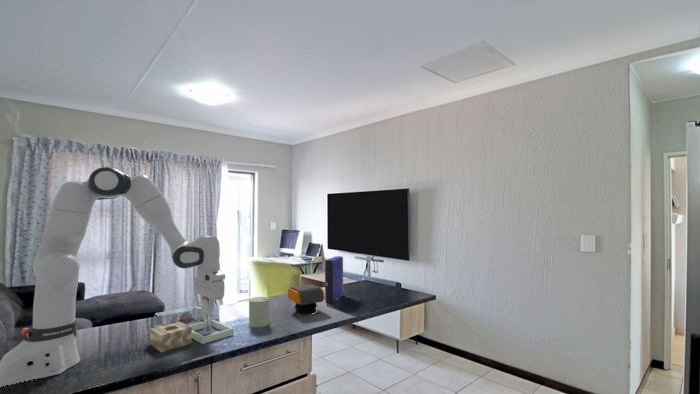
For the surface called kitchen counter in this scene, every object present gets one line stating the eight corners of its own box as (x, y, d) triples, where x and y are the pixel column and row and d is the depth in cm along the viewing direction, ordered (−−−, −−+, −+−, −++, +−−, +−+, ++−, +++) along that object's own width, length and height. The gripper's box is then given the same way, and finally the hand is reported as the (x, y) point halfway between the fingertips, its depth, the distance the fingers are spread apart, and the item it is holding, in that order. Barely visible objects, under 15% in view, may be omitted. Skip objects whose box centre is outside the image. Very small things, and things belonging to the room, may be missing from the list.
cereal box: (336, 295, 210) (335, 256, 211) (343, 295, 209) (342, 256, 210) (325, 302, 194) (324, 260, 195) (332, 302, 192) (332, 260, 193)
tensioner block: (160, 354, 124) (161, 335, 124) (150, 347, 131) (150, 328, 132) (191, 345, 132) (191, 327, 132) (179, 338, 140) (180, 321, 140)
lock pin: (206, 332, 140) (206, 297, 141) (202, 330, 142) (202, 296, 143) (213, 329, 142) (213, 296, 143) (209, 328, 145) (210, 295, 145)
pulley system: (153, 325, 159) (153, 333, 146) (153, 315, 160) (154, 322, 147) (215, 318, 173) (220, 324, 160) (215, 308, 174) (220, 314, 161)
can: (266, 327, 152) (266, 300, 153) (246, 327, 152) (246, 300, 153) (271, 321, 161) (271, 295, 162) (251, 321, 161) (252, 295, 162)
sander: (303, 302, 194) (303, 279, 195) (325, 312, 173) (325, 287, 174) (279, 306, 186) (279, 283, 186) (299, 318, 165) (299, 291, 166)
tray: (202, 346, 131) (202, 337, 132) (183, 335, 143) (183, 327, 144) (233, 336, 141) (233, 328, 141) (212, 327, 153) (212, 319, 153)
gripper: (190, 272, 148) (189, 304, 147) (212, 278, 134) (212, 313, 134) (204, 270, 153) (204, 301, 152) (227, 275, 139) (227, 309, 138)
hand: (208, 307), depth 143 cm, fingers closed on lock pin, 3 cm apart
